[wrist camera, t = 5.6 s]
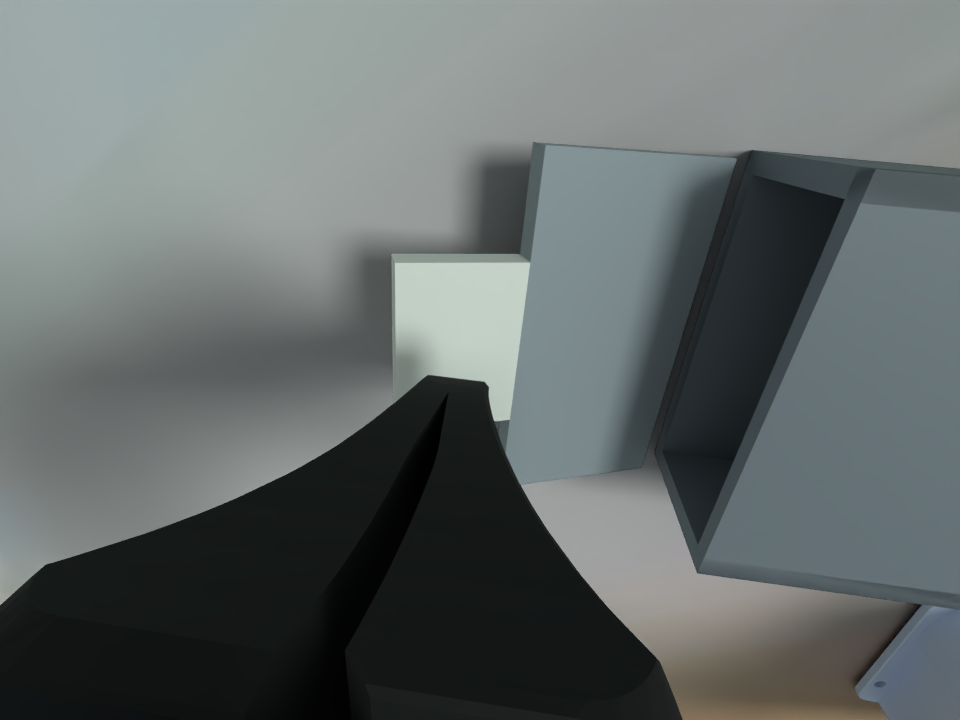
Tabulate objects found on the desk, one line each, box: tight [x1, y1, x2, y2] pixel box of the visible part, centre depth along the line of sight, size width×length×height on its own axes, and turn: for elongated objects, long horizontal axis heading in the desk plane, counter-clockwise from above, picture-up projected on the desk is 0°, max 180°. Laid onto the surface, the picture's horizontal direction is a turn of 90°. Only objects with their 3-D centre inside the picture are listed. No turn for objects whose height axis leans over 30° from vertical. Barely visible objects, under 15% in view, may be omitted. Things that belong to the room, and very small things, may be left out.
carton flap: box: [391, 142, 737, 485], centre depth 14 cm, size 11×1×9 cm
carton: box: [655, 150, 960, 610], centre depth 13 cm, size 11×9×6 cm
